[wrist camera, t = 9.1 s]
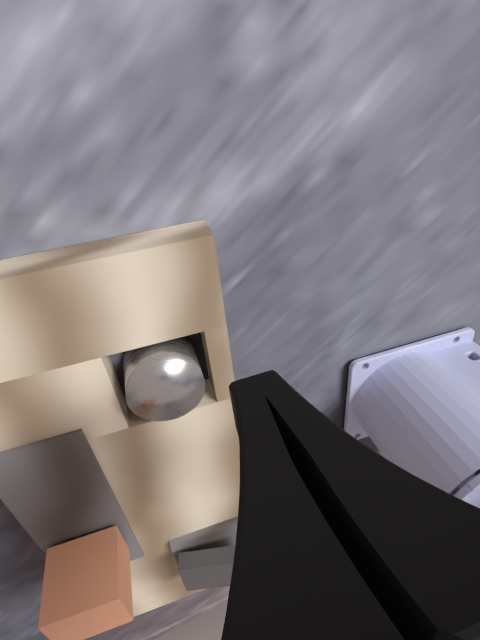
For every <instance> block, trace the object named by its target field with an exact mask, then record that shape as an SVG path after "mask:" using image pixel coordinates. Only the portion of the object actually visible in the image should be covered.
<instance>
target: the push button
mask: <svg viewBox="0 0 480 640" xmlns="http://www.w3.org/2000/svg"><path fill="white" fill-rule="evenodd" d="M123 367H124V381H125V394H126V402H127V405H128V407H129V408H130V410H131V411H132V412H133V413H134V414H136V415H137V416H139V417H141V418H143V419H146V420H150V421H168V420H173V419H176V418H179V417H181V416H184V415H185V414H187V413H189V412H190V411H192V410H193V409H194V408H195V407H196V406H197V405H198V404H199V403H200V401H201V400H202V398H203V396H204V393H205V386H206V385H205V380H204V377H203V374H202V371H201V368H200V365H199V362H198V359H197V356H196V353H195V350H194V347H193V345H192V344H191V342H190V341H189V340H188V339H187V338H185V337H180V338H176V339H172V340H168V341H164V342H160V343H156V344H152V345H148V346H144V347H141V348H137V349H133V350H129V351H126V353H125V355H124V359H123Z"/></svg>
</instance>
